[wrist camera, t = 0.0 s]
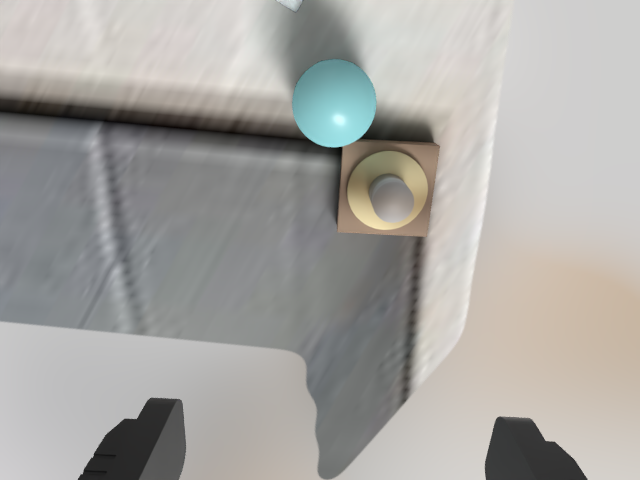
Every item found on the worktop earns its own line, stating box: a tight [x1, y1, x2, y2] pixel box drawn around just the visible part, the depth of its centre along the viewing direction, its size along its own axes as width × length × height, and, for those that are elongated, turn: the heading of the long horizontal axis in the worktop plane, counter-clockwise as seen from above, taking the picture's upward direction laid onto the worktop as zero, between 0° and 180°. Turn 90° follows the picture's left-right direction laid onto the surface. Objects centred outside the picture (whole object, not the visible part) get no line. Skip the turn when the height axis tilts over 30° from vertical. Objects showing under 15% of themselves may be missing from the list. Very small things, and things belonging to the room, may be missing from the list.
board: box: [337, 139, 440, 237], centre depth 35 cm, size 8×8×6 cm
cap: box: [292, 59, 376, 147], centre depth 33 cm, size 6×6×6 cm
